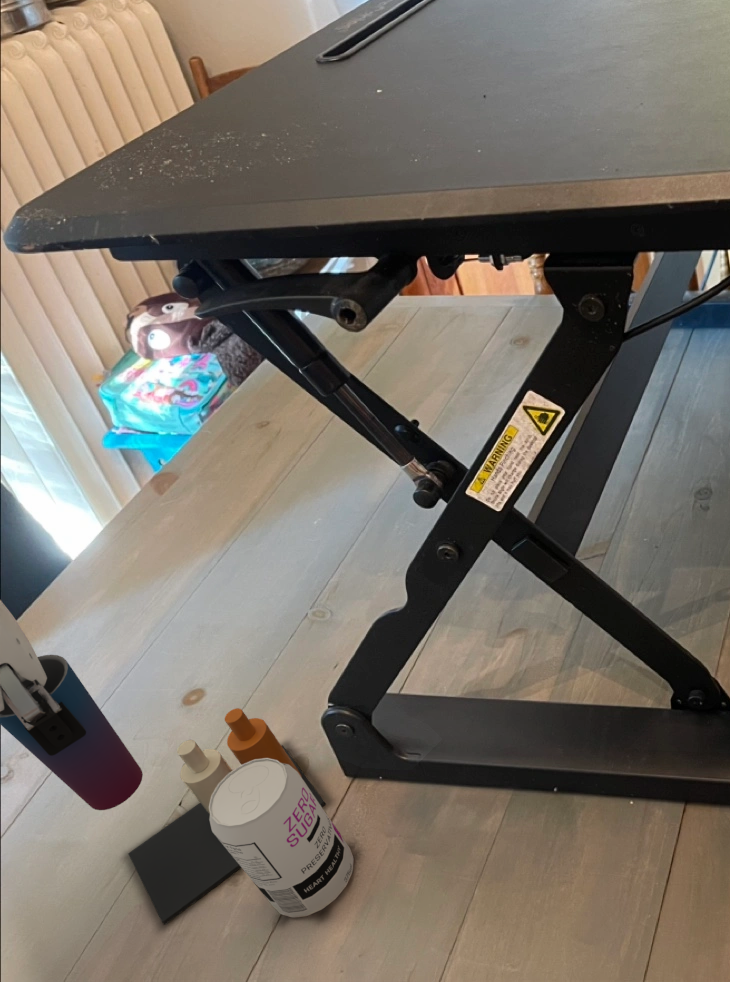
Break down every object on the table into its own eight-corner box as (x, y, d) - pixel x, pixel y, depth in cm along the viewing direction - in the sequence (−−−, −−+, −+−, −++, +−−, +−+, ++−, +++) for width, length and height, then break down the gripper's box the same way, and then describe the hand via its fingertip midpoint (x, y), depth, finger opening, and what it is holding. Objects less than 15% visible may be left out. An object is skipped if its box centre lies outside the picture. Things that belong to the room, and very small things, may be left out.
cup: (65, 823, 98) (-31, 722, 89) (97, 761, 103) (9, 660, 94) (135, 813, 97) (45, 710, 88) (163, 752, 103) (81, 649, 94)
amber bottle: (273, 809, 111) (221, 738, 104) (259, 787, 114) (207, 717, 106) (308, 784, 113) (259, 713, 106) (293, 763, 116) (244, 692, 108)
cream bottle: (229, 841, 109) (173, 771, 102) (215, 819, 111) (159, 749, 104) (265, 815, 111) (212, 745, 103) (250, 793, 113) (198, 723, 106)
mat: (164, 924, 103) (162, 922, 103) (130, 856, 110) (127, 853, 110) (326, 804, 111) (324, 801, 111) (284, 747, 118) (282, 744, 118)
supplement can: (271, 864, 106) (202, 775, 97) (352, 830, 108) (291, 739, 99) (274, 935, 100) (200, 847, 91) (360, 897, 102) (295, 807, 93)
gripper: (-134, 561, 88) (-7, 700, 98) (-100, 663, 76) (39, 807, 87) (-38, 512, 91) (74, 651, 102) (8, 602, 80) (129, 748, 91)
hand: (57, 721), depth 94 cm, fingers closed on cup, 6 cm apart
